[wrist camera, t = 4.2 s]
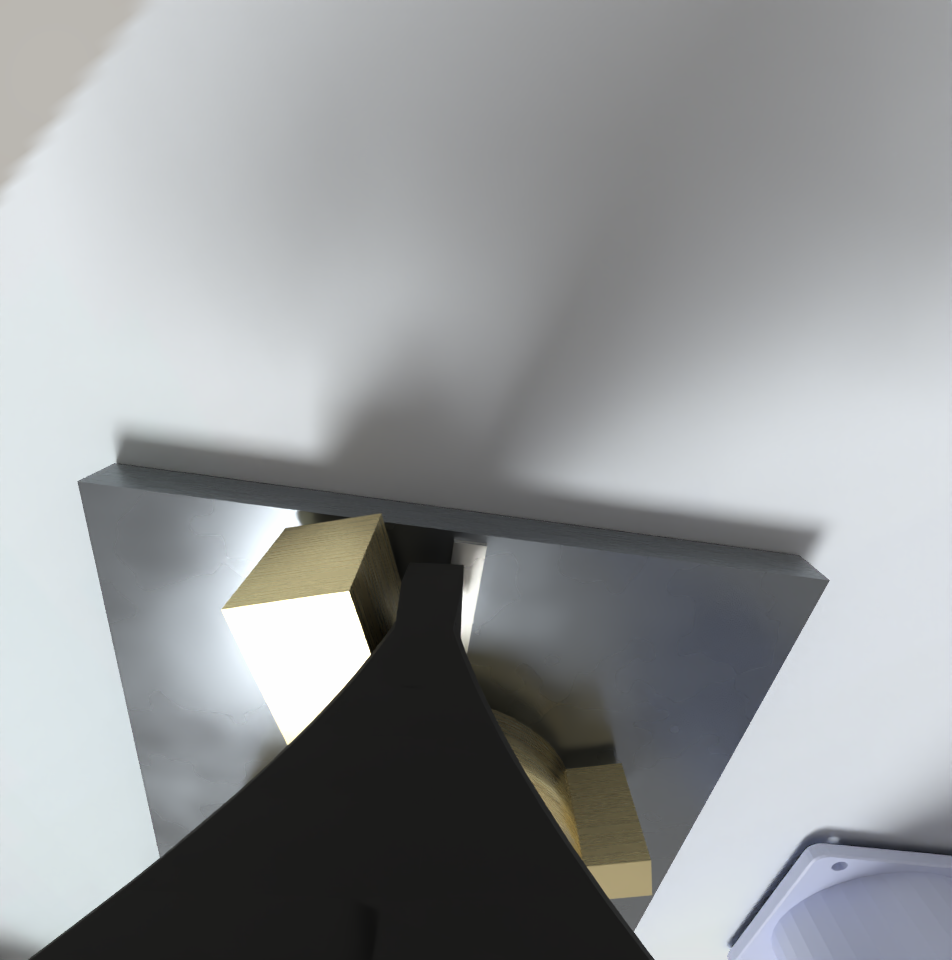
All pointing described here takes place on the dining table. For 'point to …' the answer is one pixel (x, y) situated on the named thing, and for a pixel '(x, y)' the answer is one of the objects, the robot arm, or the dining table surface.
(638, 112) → the dining table surface
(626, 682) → the flange plate
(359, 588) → the gold cross-shaped piece
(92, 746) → the dining table surface
